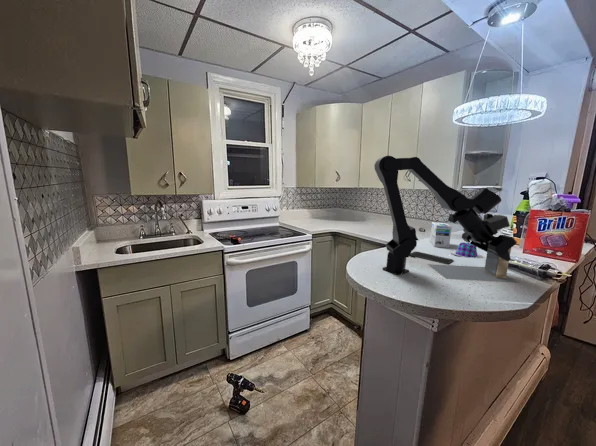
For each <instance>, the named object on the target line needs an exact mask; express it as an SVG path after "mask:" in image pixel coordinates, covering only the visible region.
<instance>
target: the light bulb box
mask: <svg viewBox="0 0 596 446" xmlns="http://www.w3.org/2000/svg"><path fill="white" fill-rule="evenodd" d="M452 227H453V226H451V225H449V224H448V223H446V222H436V221H432V222H431V229H430V234H429V235H430V236H429V243H430V244H431V245H432V246H433V247H435V248H444V249H445V248H446V249H449V248H450V244H451V236H452V234H451V233H452Z"/></svg>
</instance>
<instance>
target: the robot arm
mask: <svg viewBox="0 0 596 446" xmlns="http://www.w3.org/2000/svg"><path fill="white" fill-rule="evenodd" d="M373 166H374V171H375V173H376V175H377V177H378V179H379V181H380V182H381V184H382V186H383V189H384V192H385V198H386V201H387V204H388V208H389V212H390V217H391V221H392V225H393V226H392V231H391V232H392V239H391V240H388V242H387V243H386V244H385V248H386V251H388V253H387V258H386V266H384V267H382V270H384V271H387V272H389V273H392V274H394V275H402V274H405V273H406V274H407V273H409V272H410V270H409V269H407V268H406V264H407V258H409V255H410V253H412V251H414V250H415V249H416V247H417V243H418V241H419V239H418V237H417V230H416V227H415V228H414V227H413V226H412V225H409V224H408V222H407V217H406V213H405V209H404V205H403V200H402V197H401V192H400V189H399V185H398V178H399V171H409V173H411V174H412V175H413V176H415V177H416V178H417V179H418V181H420V182H421V183H422V184H423V185H424V186H425V187H426V188H427V189H428V190H430V192H432V194H433V195H434V197H435V199H436V201H437V203H438V204H439V205H440V206H441V208H443V209H444V210H447V211H452V212H454V213H449V214H448V218H447V221H448V222H449V223H451V224H456V223H458V224H460V226H461V227H462V228H463V229H462V231H463V233H462V234H461V238H462V240H464V242H465V243H470V244H472V245H474V246H476V248H478V249H480V250H482V251H483V252H486V253H487V250H488V249H489V250H490V251H489V252H491V253H493V254H494V255H496V256H498V257H500V258H502V259H504V260H506V261H511V259H512V258H511V254H510V255H509V252H508V250H509V249H510V248H511V249H512V248H513V247H514V246H515V245H517V243H518V242H517V240H516V239H515V237H513V236H511V235H506V234H498V233H499V230H501V229H502V230H503V229H504V228H509V227H511V226H510V222H509V219H508V216H506V215H500V214H494V215H493V213H488V212H490V211H492V209H494V208H495V207H496V206H498V205H499V204H501V203H502V198H501V196H500V195H499V194H497V193H495V192H494V191H492V190H490V189H489V188H488V187H482V188H480V189H479V190H478V191H477V192H476V193H475V194H474V195H473V196H471V197H467V196H466V195H465V194H463V193H462V192H460V191H459V190H457V189H456V188H455V189H454V188H453V187H451V186H449V185H447V184H446V183H445V181H443V180H442V179H441V178H440V177H438V176H437V174H435V172H433V171H432V170H431V169H430V168H429V167H428V166H427V165H425V164H424V162H423V161H422V160H421V159H420V158H419V157H418V156H412V157H399V158H396V157H394V156H392V155H385V156H382V157H379V158H378V159H377V160H376V161H375V163H374V165H373ZM480 214H483V219H482V218H481V217H480ZM497 234H498V236H495V235H497Z"/></svg>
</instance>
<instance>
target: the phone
mask: <svg viewBox="0 0 596 446" xmlns="http://www.w3.org/2000/svg"><path fill="white" fill-rule="evenodd" d="M409 257H410V258H414V259H416V258H419V259H422V260H427V261H430V262H434V263H435V262H436V263H439V264H442V265H451V263H453V262H454V259H452V258H447V257H443V256H439V255H435V254H430V253H425V252H420V251H413V252H411V253H410V255H409ZM409 257H408V258H409Z"/></svg>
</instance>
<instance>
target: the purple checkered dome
mask: <svg viewBox="0 0 596 446" xmlns="http://www.w3.org/2000/svg"><path fill="white" fill-rule="evenodd" d="M450 254H452V255H455V256H457V257H462V258H469V259H470V258H472V259H482V258H483V257H484V256H483V254H481V253H478V251H477V247H476V246H474V245H472V244H470V243H468V242H460V243H459V244H458V246H457V248H456V249H452V250H450Z"/></svg>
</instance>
